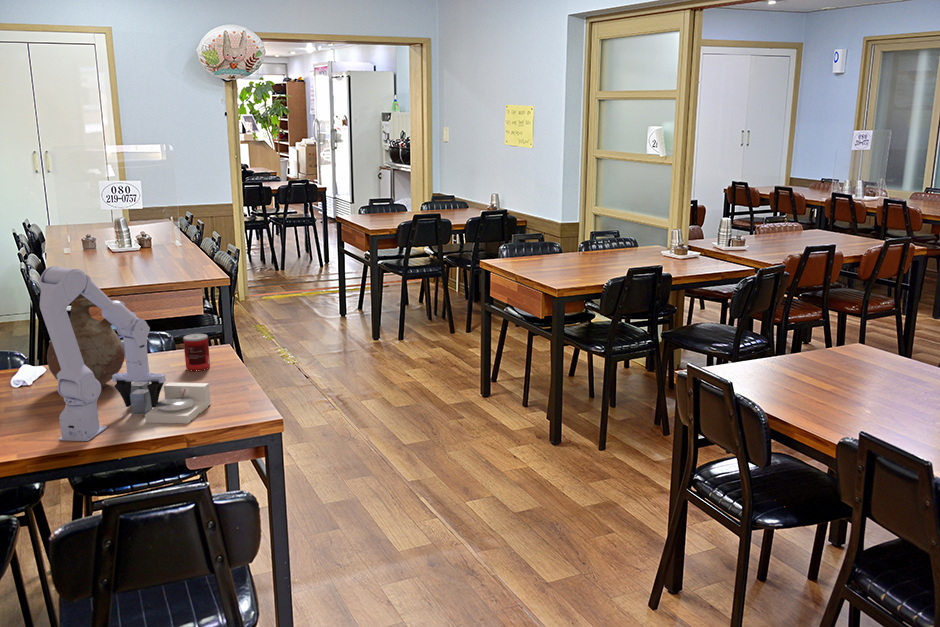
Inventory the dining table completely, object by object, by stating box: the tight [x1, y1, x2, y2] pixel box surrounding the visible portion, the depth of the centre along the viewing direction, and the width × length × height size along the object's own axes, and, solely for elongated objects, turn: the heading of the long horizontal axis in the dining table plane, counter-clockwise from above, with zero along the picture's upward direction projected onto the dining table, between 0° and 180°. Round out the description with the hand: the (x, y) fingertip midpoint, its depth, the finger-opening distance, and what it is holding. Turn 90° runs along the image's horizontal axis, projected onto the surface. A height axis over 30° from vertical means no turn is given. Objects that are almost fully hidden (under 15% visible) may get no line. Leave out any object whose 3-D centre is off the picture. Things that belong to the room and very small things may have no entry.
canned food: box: [182, 333, 211, 372], centre depth 263 cm, size 8×8×11 cm
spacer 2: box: [130, 389, 153, 416], centre depth 223 cm, size 4×4×6 cm
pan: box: [156, 397, 195, 411], centre depth 220 cm, size 10×10×1 cm
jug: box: [46, 294, 125, 390], centre depth 242 cm, size 22×22×30 cm
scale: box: [144, 382, 211, 424], centre depth 221 cm, size 15×12×6 cm
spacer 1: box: [131, 382, 150, 393], centre depth 230 cm, size 4×4×6 cm
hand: (141, 406), depth 223 cm, fingers open, 7 cm apart
